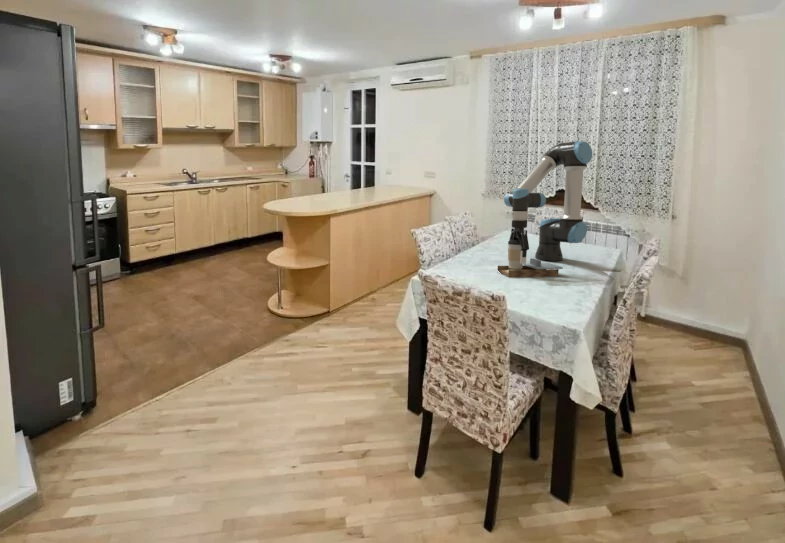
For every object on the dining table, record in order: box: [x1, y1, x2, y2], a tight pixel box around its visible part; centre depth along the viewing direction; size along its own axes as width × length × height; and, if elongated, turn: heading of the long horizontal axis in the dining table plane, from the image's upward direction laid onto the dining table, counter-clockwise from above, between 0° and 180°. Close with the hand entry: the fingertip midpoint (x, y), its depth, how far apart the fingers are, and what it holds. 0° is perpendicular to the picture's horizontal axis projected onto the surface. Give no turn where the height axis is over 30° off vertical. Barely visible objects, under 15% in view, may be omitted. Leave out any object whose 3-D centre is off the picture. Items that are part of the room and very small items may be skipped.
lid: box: [523, 257, 564, 270], centre depth 246 cm, size 14×16×4 cm
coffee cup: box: [507, 238, 523, 269], centre depth 246 cm, size 9×9×15 cm
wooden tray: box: [497, 265, 560, 278], centre depth 246 cm, size 26×16×4 cm, turn 99°
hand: (517, 261), depth 244 cm, fingers open, 13 cm apart
